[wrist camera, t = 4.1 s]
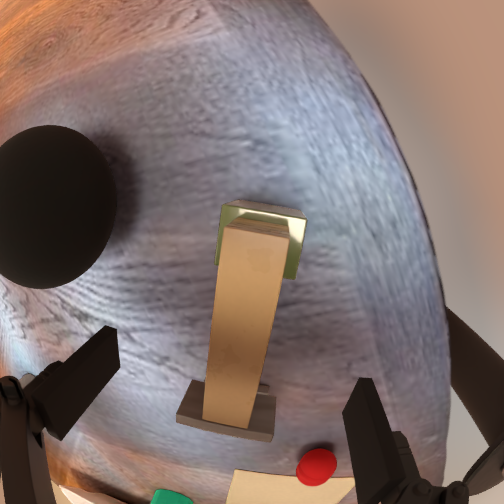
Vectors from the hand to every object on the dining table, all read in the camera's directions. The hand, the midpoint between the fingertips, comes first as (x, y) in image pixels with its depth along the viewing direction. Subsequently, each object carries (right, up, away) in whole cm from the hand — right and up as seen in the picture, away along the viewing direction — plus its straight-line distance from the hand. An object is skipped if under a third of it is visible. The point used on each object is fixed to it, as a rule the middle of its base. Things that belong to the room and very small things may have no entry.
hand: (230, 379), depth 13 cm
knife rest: (+2, +8, +4) cm, 9 cm away
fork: (0, 0, +6) cm, 6 cm away
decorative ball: (-11, +11, +5) cm, 16 cm away
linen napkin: (+5, -26, +12) cm, 29 cm away
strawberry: (+7, -14, +9) cm, 18 cm away
